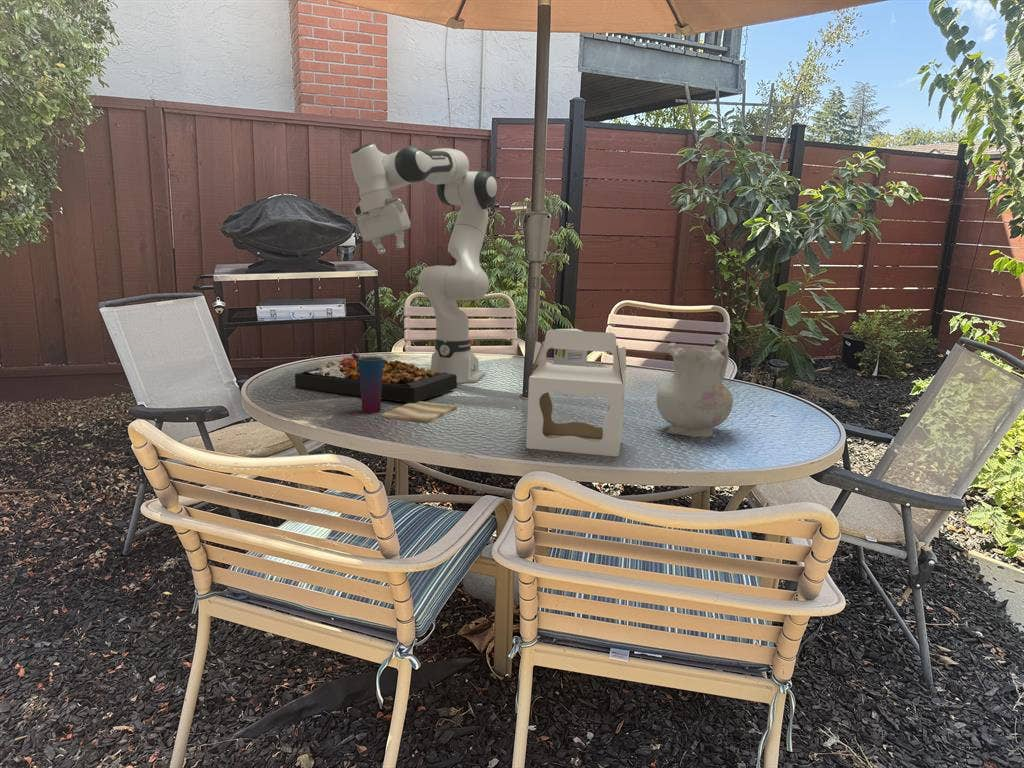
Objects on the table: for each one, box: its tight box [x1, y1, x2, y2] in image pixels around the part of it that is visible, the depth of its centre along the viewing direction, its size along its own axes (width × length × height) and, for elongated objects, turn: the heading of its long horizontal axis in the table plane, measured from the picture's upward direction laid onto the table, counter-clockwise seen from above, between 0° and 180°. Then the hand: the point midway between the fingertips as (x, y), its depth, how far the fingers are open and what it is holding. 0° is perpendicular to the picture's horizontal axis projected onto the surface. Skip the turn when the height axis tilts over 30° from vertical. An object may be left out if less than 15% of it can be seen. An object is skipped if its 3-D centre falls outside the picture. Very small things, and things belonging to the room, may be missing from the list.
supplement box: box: [553, 328, 588, 367], centre depth 255 cm, size 10×9×17 cm
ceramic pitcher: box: [656, 337, 734, 439], centre depth 183 cm, size 22×20×25 cm
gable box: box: [525, 329, 627, 458], centre depth 167 cm, size 22×13×28 cm, turn 78°
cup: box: [358, 355, 384, 414], centre depth 194 cm, size 7×7×15 cm
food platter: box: [294, 348, 458, 403], centre depth 222 cm, size 45×25×10 cm, turn 65°
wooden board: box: [381, 401, 458, 424], centre depth 195 cm, size 18×14×1 cm
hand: (391, 250), depth 201 cm, fingers open, 8 cm apart
